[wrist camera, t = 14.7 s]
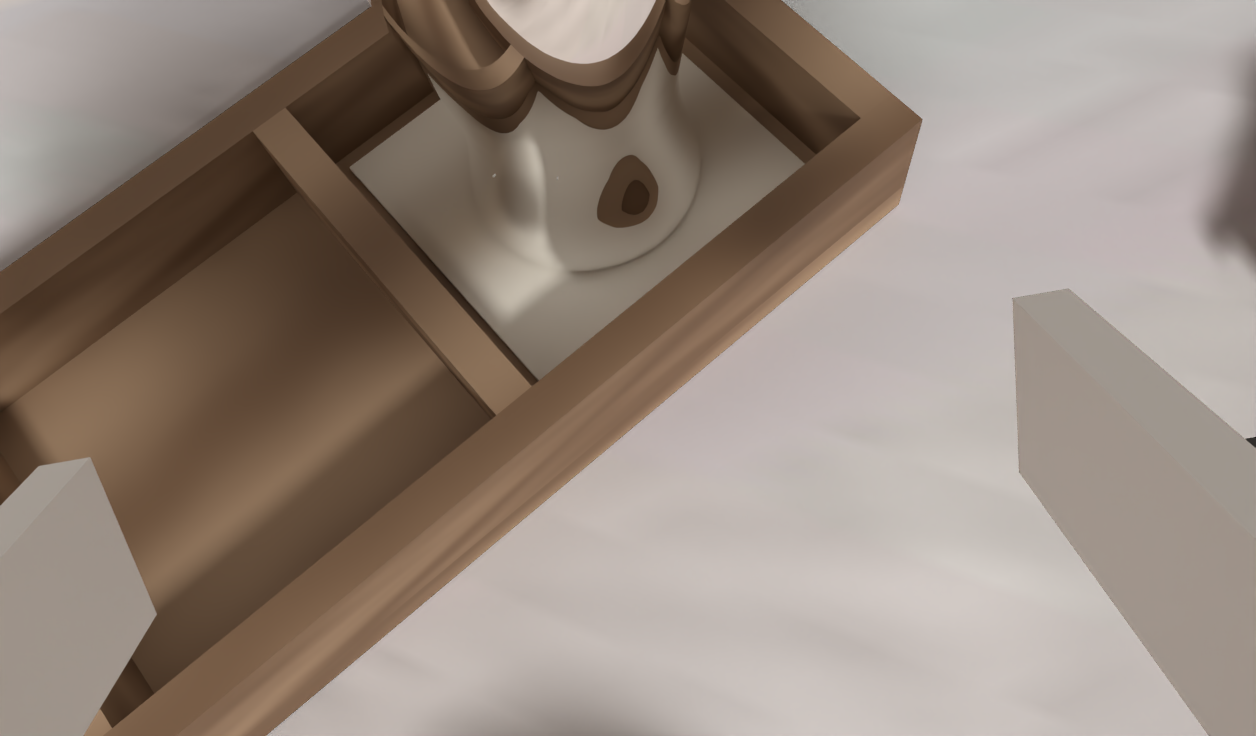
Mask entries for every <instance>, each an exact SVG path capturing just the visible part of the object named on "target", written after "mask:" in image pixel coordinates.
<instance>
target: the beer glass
mask: <svg viewBox="0 0 1256 736" xmlns="http://www.w3.org/2000/svg"><path fill="white" fill-rule="evenodd" d="M367 1H368V3H369V4H370V6H371V7H372V9H373V10H374V12H375V13H376V15H377V16H378V18H379V19H380V21H381V22H382V24H383V25H384V27H385V28H386V30H387V31H388V32H389V34H390V35H391V37H392V38H393V39H394V41H395V42H396V43H397V45H398V46H399V47H400V48H401V50H402V51H403V52H404V54H405V55H406V56H407V57H408V59H409V60H410V61H411V63H412V64H413V65H414V67H415V68H416V69H417V70H418V72H419V73H420V74H421V76H422V77H423V78H424V79H425V81H426V82H427V83H428V84H429V85H430V87H431V88H432V89H433V90H434V92H435V93H436V94H437V95H438V97H439V98H440V99H441V100H442V102H443V103H444V104H445V105H446V107H447V108H448V109H449V111H450V112H451V114H452V115H453V116H454V118H455V119H456V120H457V122H458V123H459V125H460V127H461V129H462V131H463V133H464V135H465V138H466V141H467V146H468V157H469V169H470V178H471V185H472V191H473V195H474V198H475V201H476V204H477V207H478V210H479V212H480V214H481V216H482V218H483V220H484V222H485V223H486V225H487V226H488V228H489V229H490V230H491V232H492V233H493V234H494V235H495V236H496V237H497V238H498V239H499V240H500V241H501V242H502V243H503V244H504V245H505V246H506V247H507V248H509V249H510V250H511V251H513V252H514V253H516V254H517V255H519V256H521V257H522V258H524V259H526V260H528V261H530V262H533V263H535V264H538V265H541V266H544V267H547V268H551V269H556V270H562V271H572V272H587V271H597V270H603V269H608V268H612V267H615V266H619V265H622V264H624V263H627V262H630V261H632V260H634V259H636V258H638V257H640V256H642V255H644V254H646V253H647V252H649V251H651V250H652V249H654V248H655V247H656V246H658V245H659V244H660V243H662V242H663V241H664V240H665V239H666V238H667V237H668V236H669V235H670V234H671V233H672V232H673V231H674V230H675V229H676V228H677V226H678V225H679V224H680V223H681V221H682V220H683V218H684V217H685V215H686V213H687V212H688V210H689V208H690V206H691V204H692V202H693V199H694V196H695V194H696V191H697V187H698V183H699V178H700V170H701V157H700V149H699V143H698V138H697V134H696V131H695V128H694V125H693V122H692V120H691V117H690V115H689V112H688V110H687V107H686V105H685V102H684V100H683V97H682V95H681V91H680V85H679V69H680V62H681V56H682V50H683V45H684V40H685V35H686V31H687V26H688V21H689V17H690V12H691V7H692V2H693V0H367Z"/></svg>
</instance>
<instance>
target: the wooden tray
mask: <svg viewBox="0 0 1256 736" xmlns="http://www.w3.org/2000/svg"><path fill="white" fill-rule="evenodd" d="M679 85H680V91H681V95H682V97H683V100H684V102H685V105H686V107H687V110H688V112H689V115H690V117H691V120H692V122H693V125H694V128H695V131H696V134H697V138H698V143H699V149H700V157H701V170H700V178H699V183H698V187H697V191H696V194H695V196H694V199H693V202H692V204H691V206H690V208H689V210H688V212H687V213H686V215H685V217H684V218H683V220H682V221H681V223H680V224H679V225H678V226H677V228H676V229H675V230H674V231H673V232H672V233H671V234H670V235H669V236H668V237H667V238H666V239H665V240H664V241H663V242H662V243H660V244H659V245H658V246H656V247H655V248H654V249H652V250H651V251H649V252H647V253H646V254H644V255H642V256H640V257H638V258H636V259H634V260H632V261H630V262H627V263H624V264H622V265H619V266H615V267H612V268H608V269H603V270H597V271H587V272H572V271H562V270H556V269H551V268H547V267H544V266H541V265H538V264H535V263H533V262H530V261H528V260H526V259H524V258H522V257H521V256H519V255H517V254H516V253H514V252H513V251H511V250H510V249H509V248H507V247H506V246H505V245H504V244H503V243H502V242H501V241H500V240H499V239H498V238H497V237H496V236H495V235H494V234H493V233H492V232H491V230H490V229H489V228H488V226H487V225H486V223H485V222H484V220H483V218H482V216H481V214H480V212H479V210H478V207H477V204H476V201H475V198H474V195H473V191H472V185H471V178H470V169H469V157H468V146H467V141H466V138H465V135H464V133H463V131H462V129H461V127H460V125H459V123H458V122H457V120H456V119H455V118H454V116H453V115H452V114H451V112H450V111H449V109H448V108H447V107H446V105H445V104H444V103H443V102H442V100H441V99H440V98H439V97H438V95H437V94H436V93H435V92H434V90H433V89H432V88H431V87H430V85H429V84H428V83H427V82H426V81H425V79H424V78H423V77H422V76H421V74H420V73H419V72H418V70H417V69H416V68H415V67H414V65H413V64H412V63H411V61H410V60H409V59H408V57H407V56H406V55H405V54H404V52H403V51H402V50H401V48H400V47H399V46H398V45H397V43H396V42H395V41H394V39H393V38H392V37H391V35H390V34H389V32H388V31H387V30H386V28H385V27H384V25H383V24H382V22H381V21H380V19H379V18H378V16H377V15H376V13H375V12H374V10H373V9H372V7H370V8H368V9H367V10H365V11H364V12H363V13H361V14H360V15H358V16H357V17H356V18H354V19H353V20H351V21H350V22H349V23H347V24H346V25H345V26H343V27H342V28H340V29H339V30H338V31H336V32H335V33H333V34H332V35H331V36H329V37H328V38H326V39H325V40H324V41H322V42H321V43H319V44H318V45H317V46H315V47H314V48H312V49H311V50H310V51H308V52H307V53H305V54H304V55H303V56H301V57H300V58H298V59H297V60H296V61H294V62H293V63H291V64H290V65H289V66H287V67H286V68H284V69H283V70H282V71H280V72H279V73H277V74H276V75H275V76H273V77H272V78H271V79H269V80H268V81H266V82H265V83H264V84H262V85H261V86H259V87H258V88H257V89H255V90H254V91H252V92H251V93H250V94H248V95H247V96H245V97H244V98H243V99H241V100H240V101H238V102H237V103H236V104H234V105H233V106H231V107H230V108H229V109H227V110H226V111H224V112H223V113H222V114H220V115H219V116H217V117H216V118H215V119H213V120H212V121H210V122H209V123H208V124H206V125H205V126H203V127H202V128H201V129H199V130H198V131H197V132H195V133H194V134H192V135H191V136H190V137H188V138H187V139H185V140H184V141H183V142H181V143H180V144H178V145H177V146H176V147H174V148H173V149H171V150H170V151H169V152H167V153H166V154H164V155H163V156H162V157H160V158H159V159H157V160H156V161H155V162H153V163H152V164H150V165H149V166H148V167H146V168H145V169H143V170H142V171H141V172H139V173H138V174H136V175H135V176H134V177H132V178H131V179H130V180H128V181H127V182H125V183H124V184H123V185H121V186H120V187H118V188H117V189H116V190H114V191H113V192H111V193H110V194H109V195H107V196H106V197H104V198H103V199H102V200H100V201H99V202H97V203H96V204H95V205H93V206H92V207H90V208H89V209H88V210H86V211H85V212H83V213H82V214H81V215H79V216H78V217H76V218H75V219H74V220H72V221H71V222H69V223H68V224H67V225H65V226H64V227H62V228H61V229H60V230H58V231H57V232H56V233H54V234H53V235H51V236H50V237H49V238H47V239H46V240H44V241H43V242H42V243H40V244H39V245H37V246H36V247H35V248H33V249H32V250H30V251H29V252H28V253H26V254H25V255H23V256H22V257H21V258H19V259H18V260H16V261H15V262H14V263H12V264H11V265H9V266H8V267H7V268H5V269H4V270H2V271H1V272H0V506H1V505H2V504H3V502H4V501H5V500H6V499H7V498H8V497H9V496H10V495H11V494H12V493H13V492H14V491H15V490H16V489H17V488H18V487H19V486H20V485H21V484H22V483H23V482H24V481H25V480H26V479H27V478H28V477H29V476H30V474H31V473H32V472H33V471H34V470H35V469H36V468H37V467H38V466H42V465H48V464H53V463H59V462H65V461H71V460H77V459H82V458H88V457H90V458H91V460H92V462H93V465H94V467H95V469H96V472H97V474H98V477H99V479H100V481H101V484H102V486H103V488H104V491H105V493H106V495H107V498H108V500H109V502H110V505H111V507H112V509H113V512H114V514H115V517H116V519H117V521H118V524H119V526H120V528H121V531H122V533H123V535H124V538H125V540H126V542H127V545H128V547H129V549H130V552H131V554H132V557H133V559H134V561H135V564H136V566H137V568H138V571H139V573H140V575H141V578H142V580H143V582H144V585H145V587H146V589H147V592H148V594H149V596H150V599H151V601H152V604H153V606H154V608H155V611H156V613H157V615H156V617H155V618H154V620H153V622H152V623H151V625H150V627H149V628H148V630H147V632H146V633H145V635H144V636H143V638H142V640H141V641H140V643H139V645H138V646H137V648H136V650H135V651H134V653H133V655H132V656H131V658H130V660H129V661H128V663H127V665H126V666H125V668H124V669H123V671H122V673H121V674H120V676H119V678H118V679H117V681H116V683H115V684H114V686H113V688H112V689H111V691H110V693H109V694H108V696H107V698H106V699H105V701H104V702H103V704H102V706H101V707H100V709H99V711H98V712H97V714H96V716H95V717H94V719H93V721H92V722H91V724H90V726H89V727H88V729H87V731H86V732H85V734H84V735H83V736H266V735H267V734H268V733H270V732H271V731H272V730H273V729H274V728H276V727H277V726H278V725H279V724H280V723H281V722H283V721H284V720H285V719H286V718H287V717H289V716H290V715H291V714H292V713H293V712H295V711H296V710H297V709H298V708H299V707H301V706H302V705H303V704H304V703H305V702H306V701H308V700H309V699H310V698H311V697H312V696H314V695H315V694H316V693H317V692H318V691H320V690H321V689H322V688H323V687H324V686H326V685H327V684H328V683H329V682H330V681H331V680H333V679H334V678H335V677H336V676H337V675H339V674H340V673H341V672H342V671H343V670H345V669H346V668H347V667H348V666H349V665H351V664H352V663H353V662H354V661H355V660H356V659H358V658H359V657H360V656H361V655H362V654H364V653H365V652H366V651H367V650H368V649H370V648H371V647H372V646H373V645H374V644H376V643H377V642H378V641H379V640H380V639H382V638H383V637H384V636H385V635H386V634H387V633H389V632H390V631H391V630H392V629H393V628H395V627H396V626H397V625H398V624H399V623H401V622H402V621H403V620H404V619H405V618H407V617H408V616H409V615H410V614H411V613H412V612H414V611H415V610H416V609H417V608H418V607H420V606H421V605H422V604H423V603H424V602H426V601H427V600H428V599H429V598H430V597H432V596H433V595H434V594H435V593H436V592H437V591H439V590H440V589H441V588H442V587H443V586H445V585H446V584H447V583H448V582H449V581H451V580H452V579H453V578H454V577H455V576H457V575H458V574H459V573H460V572H461V571H463V570H464V569H465V568H466V567H467V566H468V565H470V564H471V563H472V562H473V561H474V560H476V559H477V558H478V557H479V556H480V555H482V554H483V553H484V552H485V551H486V550H488V549H489V548H490V547H491V546H492V545H493V544H495V543H496V542H497V541H498V540H499V539H501V538H502V537H503V536H504V535H505V534H507V533H508V532H509V531H510V530H511V529H513V528H514V527H515V526H516V525H517V524H518V523H520V522H521V521H522V520H523V519H524V518H526V517H527V516H528V515H529V514H530V513H532V512H533V511H534V510H535V509H536V508H538V507H539V506H540V505H541V504H542V503H544V502H545V501H546V500H547V499H548V498H549V497H551V496H552V495H553V494H554V493H555V492H557V491H558V490H559V489H560V488H561V487H563V486H564V485H565V484H566V483H567V482H569V481H570V480H571V479H572V478H573V477H574V476H576V475H577V474H578V473H579V472H580V471H582V470H583V469H584V468H585V467H586V466H588V465H589V464H590V463H591V462H592V461H594V460H595V459H596V458H597V457H598V456H599V455H601V454H602V453H603V452H604V451H605V450H607V449H608V448H609V447H610V446H611V445H613V444H614V443H615V442H616V441H617V440H619V439H620V438H621V437H622V436H623V435H624V434H626V433H627V432H628V431H629V430H630V429H632V428H633V427H634V426H635V425H636V424H638V423H639V422H640V421H641V420H642V419H644V418H645V417H646V416H647V415H648V414H650V413H651V412H652V411H653V410H654V409H655V408H657V407H658V406H659V405H660V404H661V403H663V402H664V401H665V400H666V399H667V398H669V397H670V396H671V395H672V394H673V393H675V392H676V391H677V390H678V389H679V388H680V387H682V386H683V385H684V384H685V383H686V382H688V381H689V380H690V379H691V378H692V377H694V376H695V375H696V374H697V373H698V372H700V371H701V370H702V369H703V368H704V367H705V366H707V365H708V364H709V363H710V362H711V361H713V360H714V359H715V358H716V357H717V356H719V355H720V354H721V353H722V352H723V351H725V350H726V349H727V348H728V347H729V346H731V345H732V344H733V343H734V342H735V341H736V340H738V339H739V338H740V337H741V336H742V335H744V334H745V333H746V332H747V331H748V330H750V329H751V328H752V327H753V326H754V325H756V324H757V323H758V322H759V321H760V320H761V319H763V318H764V317H765V316H766V315H767V314H769V313H770V312H771V311H772V310H773V309H775V308H776V307H777V306H778V305H779V304H781V303H782V302H783V301H784V300H785V299H786V298H788V297H789V296H790V295H791V294H792V293H794V292H795V291H796V290H797V289H798V288H800V287H801V286H802V285H803V284H804V283H806V282H807V281H808V280H809V279H810V278H811V277H813V276H814V275H815V274H816V273H817V272H819V271H820V270H821V269H822V268H823V267H825V266H826V265H827V264H828V263H829V262H831V261H832V260H833V259H834V258H835V257H837V256H838V255H839V254H840V253H841V252H842V251H844V250H845V249H846V248H847V247H848V246H850V245H851V244H852V243H853V242H854V241H856V240H857V239H858V238H859V237H860V236H862V235H863V234H864V233H865V232H866V231H867V230H869V229H870V228H871V227H872V226H873V225H875V224H876V223H877V222H878V221H879V220H881V219H882V218H883V217H884V216H885V215H887V214H888V213H889V212H890V211H891V210H892V209H894V208H895V207H896V206H897V205H898V204H899V201H900V198H901V194H902V191H903V187H904V184H905V180H906V176H907V173H908V169H909V166H910V162H911V159H912V155H913V152H914V148H915V144H916V141H917V137H918V134H919V130H920V127H921V123H922V118H920V117H919V116H918V115H917V114H916V113H914V112H913V111H912V110H911V109H910V108H908V107H907V106H906V105H905V104H904V103H903V102H901V101H900V100H899V99H898V98H897V97H895V96H894V95H893V94H892V93H891V92H889V91H888V90H887V89H886V88H885V87H884V86H882V85H881V84H880V83H879V82H878V81H876V80H875V79H874V78H873V77H872V76H870V75H869V74H868V73H867V72H866V71H865V70H863V69H862V68H861V67H860V66H859V65H857V64H856V63H855V62H854V61H853V60H851V59H850V58H849V57H848V56H847V55H846V54H844V53H843V52H842V51H841V50H840V49H838V48H837V47H836V46H835V45H834V44H832V43H831V42H830V41H829V40H828V39H827V38H825V37H824V36H823V35H822V34H821V33H819V32H818V31H817V30H816V29H815V28H813V27H812V26H811V25H810V24H809V23H808V22H806V21H805V20H804V19H803V18H802V17H800V16H799V15H798V14H797V13H796V12H794V11H793V10H792V9H791V8H790V7H789V6H787V5H786V4H785V3H784V2H783V1H781V0H693V2H692V7H691V12H690V17H689V21H688V26H687V31H686V35H685V40H684V45H683V50H682V56H681V62H680V69H679Z"/></svg>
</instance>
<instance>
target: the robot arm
mask: <svg viewBox="0 0 1256 736" xmlns="http://www.w3.org/2000/svg"><path fill="white" fill-rule="evenodd" d="M1013 323H1014V349H1015V376H1016V403H1017V430H1018V457H1019V473H1020V474H1021V475H1022V477H1023V478H1024V480H1025V481H1026V482H1027V484H1028V485H1029V487H1030V488H1031V489H1032V491H1033V492H1034V494H1035V495H1036V496H1037V498H1038V499H1039V500H1040V502H1041V503H1042V505H1043V506H1044V507H1045V509H1046V510H1047V512H1048V513H1049V514H1050V516H1051V517H1052V519H1053V520H1054V521H1055V523H1056V524H1057V525H1058V527H1059V528H1060V530H1061V531H1062V532H1063V534H1064V535H1065V537H1066V538H1067V539H1068V541H1069V542H1070V544H1071V545H1072V546H1073V548H1074V549H1075V551H1076V552H1077V553H1078V555H1079V556H1080V557H1081V559H1082V560H1083V562H1084V563H1085V564H1086V566H1087V567H1088V569H1089V570H1090V571H1091V573H1092V574H1093V576H1094V577H1095V578H1096V580H1097V581H1098V582H1099V584H1100V585H1101V587H1102V588H1103V589H1104V591H1105V592H1106V594H1107V595H1108V596H1109V598H1110V599H1111V601H1112V602H1113V603H1114V605H1115V606H1116V607H1117V609H1118V610H1119V612H1120V613H1121V614H1122V616H1123V617H1124V619H1125V620H1126V621H1127V623H1128V624H1129V626H1130V627H1131V628H1132V630H1133V631H1134V632H1135V634H1136V635H1137V637H1138V638H1139V639H1140V641H1141V642H1142V644H1143V645H1144V646H1145V648H1146V649H1147V651H1148V652H1149V653H1150V655H1151V656H1152V657H1153V659H1154V660H1155V662H1156V663H1157V664H1158V666H1159V667H1160V669H1161V670H1162V671H1163V673H1164V674H1165V676H1166V677H1167V678H1168V680H1169V681H1170V682H1171V684H1172V685H1173V687H1174V688H1175V689H1176V691H1177V692H1178V694H1179V695H1180V696H1181V698H1182V699H1183V701H1184V702H1185V703H1186V705H1187V706H1188V708H1189V709H1190V710H1191V712H1192V713H1193V714H1194V716H1195V717H1196V719H1197V720H1198V721H1199V723H1200V724H1201V726H1202V727H1203V728H1204V730H1205V731H1206V733H1207V734H1208V735H1209V736H1256V437H1254V438H1247V439H1244V438H1243V437H1242V436H1241V435H1240V434H1239V433H1237V432H1236V431H1235V430H1234V429H1233V428H1232V427H1230V426H1229V425H1228V424H1227V423H1226V422H1225V421H1223V420H1222V419H1221V418H1220V417H1219V416H1218V415H1216V414H1215V413H1214V412H1213V411H1212V410H1210V409H1209V408H1208V407H1207V406H1206V405H1205V404H1203V403H1202V402H1201V401H1200V400H1199V399H1198V398H1196V397H1195V396H1194V395H1193V394H1192V393H1191V392H1189V391H1188V390H1187V389H1186V388H1185V387H1184V386H1182V385H1181V384H1180V383H1179V382H1178V381H1176V380H1175V379H1174V378H1173V377H1172V376H1171V375H1169V374H1168V373H1167V372H1166V371H1165V370H1164V369H1162V368H1161V367H1160V366H1159V365H1158V364H1157V363H1155V362H1154V361H1153V360H1152V359H1151V358H1150V357H1148V356H1147V355H1146V354H1145V353H1144V352H1142V351H1141V350H1140V349H1139V348H1138V347H1137V346H1135V345H1134V344H1133V343H1132V342H1131V341H1130V340H1128V339H1127V338H1126V337H1125V336H1124V335H1123V334H1121V333H1120V332H1119V331H1118V330H1117V329H1116V328H1114V327H1113V326H1112V325H1111V324H1110V323H1109V322H1107V321H1106V320H1105V319H1104V318H1103V317H1101V316H1100V315H1099V314H1098V313H1097V312H1096V311H1094V310H1093V309H1092V308H1091V307H1090V306H1089V305H1087V304H1086V303H1085V302H1084V301H1083V300H1082V299H1080V298H1079V297H1078V296H1077V295H1076V294H1075V293H1073V292H1072V291H1071V290H1070V289H1063V290H1058V291H1052V292H1046V293H1040V294H1034V295H1029V296H1023V297H1017V298H1013ZM156 615H157V613H156V611H155V608H154V606H153V604H152V601H151V599H150V596H149V594H148V592H147V589H146V587H145V585H144V582H143V580H142V578H141V575H140V573H139V571H138V568H137V566H136V564H135V561H134V559H133V557H132V554H131V552H130V549H129V547H128V545H127V542H126V540H125V538H124V535H123V533H122V531H121V528H120V526H119V524H118V521H117V519H116V517H115V514H114V512H113V509H112V507H111V505H110V502H109V500H108V498H107V495H106V493H105V491H104V488H103V486H102V484H101V481H100V479H99V477H98V474H97V472H96V469H95V467H94V465H93V462H92V460H91V458H90V457H88V458H82V459H77V460H71V461H65V462H59V463H53V464H48V465H42V466H38V467H37V468H36V469H35V470H34V471H33V472H32V473H31V474H30V476H29V477H28V478H27V479H26V480H25V481H24V482H23V483H22V484H21V485H20V486H19V487H18V488H17V489H16V490H15V491H14V492H13V493H12V494H11V495H10V496H9V497H8V498H7V499H6V500H5V501H4V502H3V504H2V505H1V506H0V736H83V735H84V734H85V732H86V731H87V729H88V727H89V726H90V724H91V722H92V721H93V719H94V717H95V716H96V714H97V712H98V711H99V709H100V707H101V706H102V704H103V702H104V701H105V699H106V698H107V696H108V694H109V693H110V691H111V689H112V688H113V686H114V684H115V683H116V681H117V679H118V678H119V676H120V674H121V673H122V671H123V669H124V668H125V666H126V665H127V663H128V661H129V660H130V658H131V656H132V655H133V653H134V651H135V650H136V648H137V646H138V645H139V643H140V641H141V640H142V638H143V636H144V635H145V633H146V632H147V630H148V628H149V627H150V625H151V623H152V622H153V620H154V618H155V617H156Z"/></svg>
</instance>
